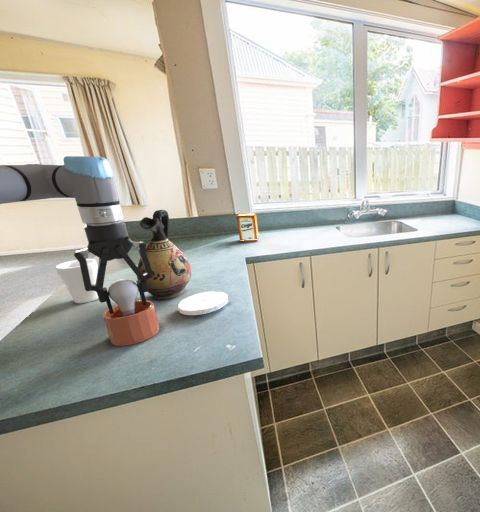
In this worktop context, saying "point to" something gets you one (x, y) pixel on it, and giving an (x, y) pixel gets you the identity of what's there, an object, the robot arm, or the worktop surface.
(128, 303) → the lightbulb
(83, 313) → the worktop surface
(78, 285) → the foam cup
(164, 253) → the ceramic jug
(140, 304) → the holder
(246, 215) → the baking soda box
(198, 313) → the plastic lid
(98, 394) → the worktop surface
